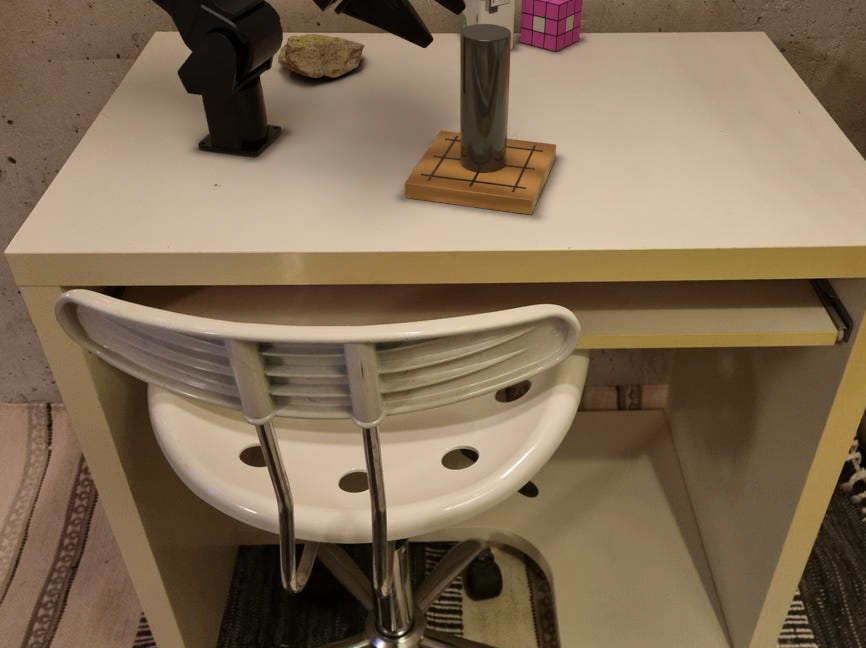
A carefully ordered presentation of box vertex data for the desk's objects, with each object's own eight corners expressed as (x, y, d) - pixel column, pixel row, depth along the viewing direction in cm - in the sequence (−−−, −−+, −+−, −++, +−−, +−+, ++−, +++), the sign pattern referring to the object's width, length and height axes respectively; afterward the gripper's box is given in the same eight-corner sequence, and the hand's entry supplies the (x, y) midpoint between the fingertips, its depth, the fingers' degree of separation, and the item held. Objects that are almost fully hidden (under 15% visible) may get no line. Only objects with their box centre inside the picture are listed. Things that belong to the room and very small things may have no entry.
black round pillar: (465, 174, 79) (466, 42, 71) (456, 153, 82) (455, 25, 74) (511, 170, 79) (516, 38, 71) (499, 150, 83) (504, 22, 75)
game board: (531, 215, 76) (532, 199, 75) (405, 197, 78) (404, 182, 77) (555, 158, 85) (556, 143, 84) (441, 144, 87) (440, 129, 86)
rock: (354, 89, 98) (356, 56, 96) (266, 75, 97) (267, 42, 95) (366, 63, 109) (369, 33, 107) (288, 50, 108) (289, 20, 106)
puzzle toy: (543, 31, 114) (546, -14, 110) (579, 40, 112) (583, -6, 108) (519, 42, 111) (521, -4, 107) (555, 52, 108) (559, 5, 104)
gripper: (325, -197, 57) (480, -6, 62) (417, -223, 70) (538, -65, 75) (240, -75, 63) (386, 88, 68) (339, -121, 77) (455, 18, 82)
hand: (446, 27), depth 73 cm, fingers open, 9 cm apart
